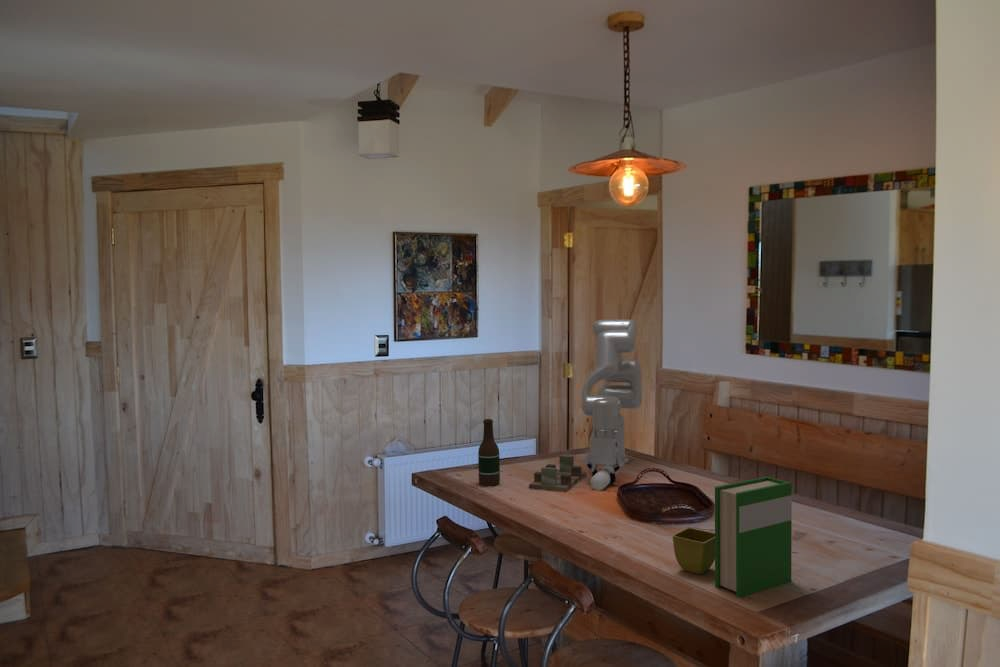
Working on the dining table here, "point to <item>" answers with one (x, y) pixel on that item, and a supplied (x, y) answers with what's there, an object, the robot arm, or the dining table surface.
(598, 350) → the robot arm
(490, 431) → the beer bottle
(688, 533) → the flower pot
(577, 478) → the cradle
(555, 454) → the dining table surface
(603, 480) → the roll
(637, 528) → the dining table surface
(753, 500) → the hardback book
